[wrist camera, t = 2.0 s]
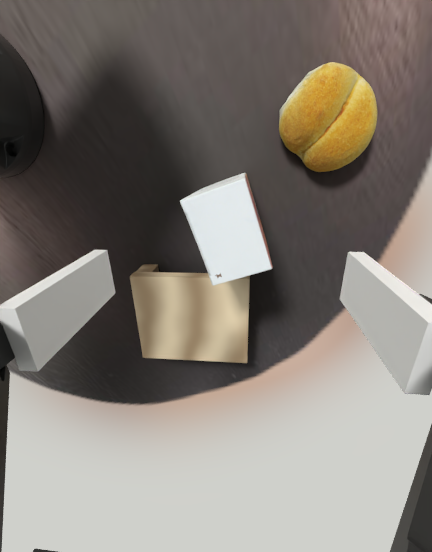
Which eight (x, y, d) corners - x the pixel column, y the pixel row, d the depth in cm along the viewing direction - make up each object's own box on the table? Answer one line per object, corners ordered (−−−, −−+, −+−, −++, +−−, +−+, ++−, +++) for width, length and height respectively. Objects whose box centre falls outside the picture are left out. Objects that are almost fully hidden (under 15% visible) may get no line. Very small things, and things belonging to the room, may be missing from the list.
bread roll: (325, 185, 29) (337, 189, 26) (264, 128, 28) (267, 123, 24) (390, 116, 26) (414, 109, 22) (326, 47, 25) (340, 28, 21)
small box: (265, 238, 32) (274, 271, 22) (222, 251, 33) (212, 288, 24) (246, 170, 29) (246, 175, 20) (199, 187, 30) (178, 200, 21)
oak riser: (152, 339, 40) (143, 357, 36) (141, 264, 35) (129, 276, 31) (246, 343, 38) (247, 363, 35) (249, 265, 34) (249, 278, 30)
